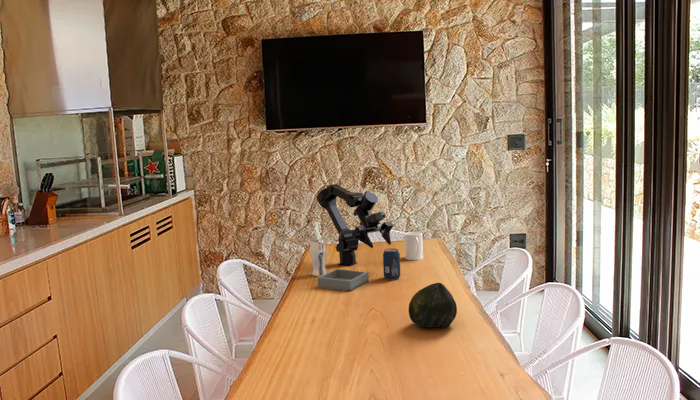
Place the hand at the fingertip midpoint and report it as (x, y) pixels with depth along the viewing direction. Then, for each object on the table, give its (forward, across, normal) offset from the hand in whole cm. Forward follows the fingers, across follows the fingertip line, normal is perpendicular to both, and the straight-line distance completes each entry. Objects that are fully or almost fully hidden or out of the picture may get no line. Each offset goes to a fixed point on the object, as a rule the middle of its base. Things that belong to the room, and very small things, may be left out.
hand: (381, 245), depth 260 cm
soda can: (+14, 0, +4) cm, 15 cm away
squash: (+53, -25, -34) cm, 67 cm away
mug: (-1, +29, +19) cm, 35 cm away
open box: (+10, -20, +8) cm, 24 cm away
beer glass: (-5, -20, +23) cm, 30 cm away
